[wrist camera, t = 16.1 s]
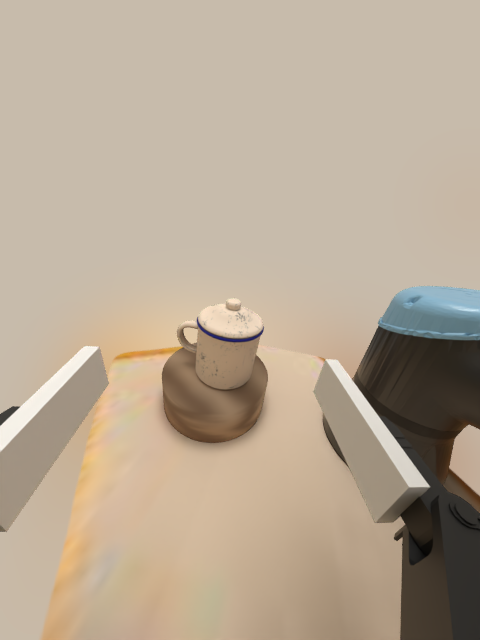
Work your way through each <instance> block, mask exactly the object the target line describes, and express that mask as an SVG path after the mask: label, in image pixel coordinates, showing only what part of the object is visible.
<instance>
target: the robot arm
mask: <svg viewBox="0 0 480 640" xmlns="http://www.w3.org/2000/svg"><path fill="white" fill-rule="evenodd" d="M378 324H379V326H378V328H377V330H376V332H375V335H374V337H373V339H372V341H371V343H370V345H369V347H368V349H367V351H366V353H365V355H364V357H363V359H362V361H361V363H360V365H359V367H358V369H357V372H356V374H355V376H354V377H353V378H352V379H351V378H350V377H349V375H348V374H347V372H346V371H345V370H344V368H343V367H342V366H341V364H340V363H339V361H338V360H329V359H325V362H324V365H323V367H322V370H321V373H320V375H319V378H318V381H317V383H316V386H315V389H314V391H313V392H314V394H315V396H316V398H317V400H318V402H319V405H320V407H321V409H322V411H323V424H324V428H325V431H326V434H327V436H328V439H329V440H330V442H331V444H332V446H333V447H334V449H335V450H336V452H337V453H338V454H339V455H340V457H341V458H342V459H343V460H344V461H345V462H346V463H347V464H348V466H349V468H350V471H351V473H352V475H353V477H354V479H355V481H356V483H357V485H358V488H359V490H360V492H361V494H362V496H363V498H364V500H365V502H366V505H367V507H368V509H369V511H370V513H371V515H372V517H373V520H374V522H375V523H390V522H394V521H395V520H396V519H397V518H398V517H399V516H400V515H401V517H402V519H403V521H404V522H405V524H406V525H404V526H403V527H402V528H401V529H400V530H399V531H398V532H397V533H395V537H394V539H395V540H396V541H398V540H399V539H400V538H402V537H403V544H402V545H403V548H402V591H401V635H400V640H480V513H478V512H477V511H476V510H475V509H474V508H473V507H472V506H471V505H470V504H469V503H468V502H466V501H465V500H463V499H462V498H461V497H459V496H457V495H454V494H452V493H449V492H448V491H447V490H446V489H445V488H444V487H443V485H442V484H443V483H444V481H445V479H446V478H447V475H448V470H449V465H450V459H451V454H452V449H453V444H454V439H455V438H456V436H457V435H458V434H459V433H460V432H461V431H462V430H463V429H464V428H465V427H466V426H467V425H471V426H474V427H476V428H478V429H480V291H479V290H471V289H463V288H452V287H438V286H420V287H412V288H408V289H405V290H402V291H401V292H399V293H398V294H397V295H396V296H395V297H394V298H393V300H392V301H391V303H390V305H389V307H388V308H387V310H386V312H385V314H384V315H383V317H381V318H380V319H379V322H378ZM108 384H109V382H108V378H107V374H106V370H105V367H104V363H103V358H102V355H101V351H100V347H91V346H84V347H83V348H82V349H81V350H80V351H79V352H78V353H77V354H76V355H75V356H74V357H73V358H72V359H71V360H70V361H68V362H67V363H66V364H65V365H64V366H63V367H62V368H61V369H60V370H59V371H58V372H57V373H56V374H55V375H54V376H53V377H52V378H51V379H49V380H48V381H47V382H46V383H45V384H44V385H43V386H42V387H41V388H40V389H39V390H38V391H37V392H36V393H35V394H34V395H33V396H32V397H31V398H30V399H28V400H27V401H26V402H25V403H24V404H23V405H22V406H21V407H14V406H13V407H11V408H9V409H8V410H6V411H5V412H3V413H1V414H0V532H5V531H7V530H8V529H9V528H10V526H11V525H12V523H13V522H14V520H15V519H16V518H17V516H18V515H19V513H20V512H21V510H22V509H23V507H24V506H25V505H26V503H27V502H28V500H29V499H30V497H31V496H32V494H33V493H34V491H35V490H36V489H37V487H38V486H39V484H40V483H41V481H42V480H43V478H44V477H45V475H46V474H47V473H48V471H49V470H50V468H51V467H52V465H53V464H54V462H55V461H56V460H57V458H58V457H59V455H60V454H61V452H62V451H63V449H64V448H65V446H66V445H67V444H68V442H69V440H70V439H71V438H72V436H73V435H74V433H75V432H76V431H77V429H78V428H79V426H80V424H81V423H82V422H83V420H84V419H85V417H86V416H87V415H88V413H89V412H90V410H91V409H92V407H93V406H94V404H95V403H96V401H97V400H98V399H99V397H100V396H101V394H102V393H103V391H104V390H105V388H106V387H107V386H108Z"/></svg>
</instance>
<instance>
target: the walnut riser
mask: <svg viewBox="0 0 480 640" xmlns="http://www.w3.org/2000/svg"><path fill="white" fill-rule="evenodd" d="M192 345H195V346H197V343H194V344H192ZM267 382H268V374H267V370H266V368H265V365H264V364H263V362H262V361H261V360H260V358H259V357H258V356H255V360H254V365H253V369H252V373H251V376H250V379H249V380H248V381H247V382H246V383H245V384H244V385H242V386H240V387H238V388H235V389H227V390H225V389H217V388H214V387H211V386H209V385H207V384H205V383H204V382H203V381H202V380H201V379H200V378H199V377H198V375H197V373H196V353H193V352H190V351H188V350H186V349H185V348H184V347H183V348H181V349H180V350H178V351H177V352H175V353H174V354H173V355H172V356H171V357H170V358H169V359H168V360H167V362H166V363H165V365H164V368H163V372H162V384H163V398H164V409H165V413H166V416H167V418H168V420H169V422H170V423H171V425H172V426H173V427H174V428H175V429H176V430H177V431H178V432H180V433H181V434H183V435H184V436H186V437H188V438H190V439H193V440H196V441H201V442H208V443H217V442H224V441H229V440H232V439H234V438H237V437H239V436H241V435H243V434H244V433H245V432H247V431H248V430H249V429H250V428H251V427H252V426H253V425H254V424H255V422H256V421H257V419H258V417H259V415H260V412H261V408H262V404H263V400H264V395H265V391H266V387H267Z"/></svg>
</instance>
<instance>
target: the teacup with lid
mask: <svg viewBox="0 0 480 640" xmlns="http://www.w3.org/2000/svg"><path fill="white" fill-rule="evenodd" d="M186 327H191V328H195V329H198V339H197V346H195V345H192V344H190V343H189V342H188V341H187V340H186V338H185V336H184V333H183V329H184V328H186ZM263 329H264V326H263V322H262V319H261V318H260V317H259V316H258V315H257V314H256V313H255V312H253V311H251V310H249V309H247V308H244V307H242V306H241V302H240V301H239V300H238V299H233V298H231V299H228V300H227V301H226V303H225V304H218V305H212V306H209V307H206V308H205V309H203V310H202V311H201V312H200V313H199V315H198V317H197V321H185V322H183V323H181V324H180V325H179V327H178V329H177V337H178V340H179V342H180V344H181V345H182V346H183V347H184V348H185V349H186V350H188V351H190V352H193V353H196V373H197V375H198V377H199V378H200V379H201V380H202V381H203V382H204V383H205V384H207V385H209V386H211V387H214V388H217V389H225V390H227V389H235V388H238V387H240V386H242V385H244V384H245V383H246V382H247V381H248V380H249V379H250V376H251V373H252V369H253V365H254V360H255V356H256V352H257V348H258V343H259V339H260V335H261V334H262V333H263Z"/></svg>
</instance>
